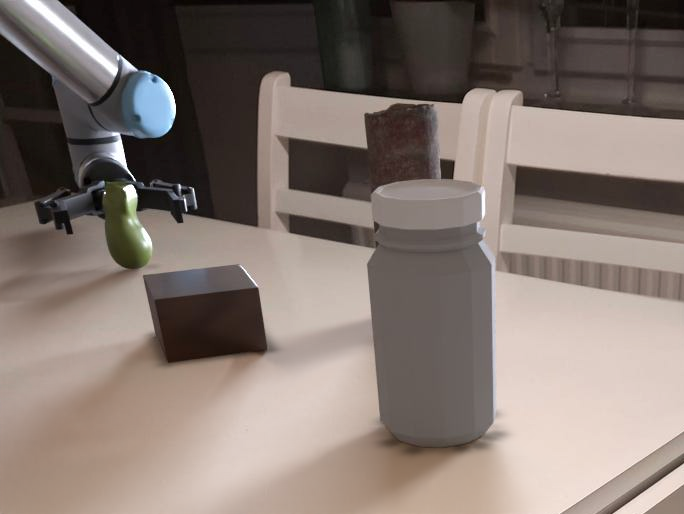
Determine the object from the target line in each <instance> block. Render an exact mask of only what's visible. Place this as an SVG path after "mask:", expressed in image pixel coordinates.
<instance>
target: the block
mask: <svg viewBox="0 0 684 514" xmlns="http://www.w3.org/2000/svg"><path fill="white" fill-rule="evenodd" d="M142 278H143V283H144V289H145V292H146V297H147V298H146V299H147V302H148V306H149V311H150V316H151V320H152V325H153V329H154V330H153V331H154V334H155V337H156V340H157V341H158V344H159V346H160V349H161V351H162V353H163V355H164V358H165V360H166V363H167V364H173V363H181V362H187V361H188V362H189V361H195V360H202V359H208V358H209V359H210V358H216V357H223V356H229V355H230V356H232V355H237V354H238V355H239V354H244V353H252V352H259V351H266V350H268V341H267V334H266V329H265V321H264V315H263V308H262V301H261V293H260V288H259V286H258V285H257V284H256V282H255V281H254V280H253V279H252V278H251V276H250V275H249V274H248V273H247V271H246V270H245V269H244V267H242V265H241V264H240V263H238V264H237V263H235V264H227V265H220V266H210V267H202V268H192V269H185V270H177V271H176V270H175V271H165V272H157V273H150V274H143V275H142Z"/></svg>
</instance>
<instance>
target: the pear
mask: <svg viewBox="0 0 684 514" xmlns="http://www.w3.org/2000/svg"><path fill="white" fill-rule="evenodd" d="M103 208H104V211H105V220H104V235H105V241H106V245H107V246H106V247H107V249H108V253H109V254H110V256H111V258H112V260H113V261H114V262H115V263H116V264H117V265H118V266H120V267H122V268H124V269H127V270H140V269H142V268H144V267H146V266H147V265H148V264H149V263H150V261H151V260H152V256H153V243H152V240H151V238H150V236H149V234H148V233H147V231H146V230H145V228H144V226H143V225H142V223H141V222H140V220H139V218H138V215H137V211H136V208H137V194H136V190H135V189H134V187H133V186H132V184H131V185H127V184H126V183H123V182H120V181H117V182H107V181H106V187H105V192H104V193H103Z"/></svg>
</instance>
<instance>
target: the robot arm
mask: <svg viewBox="0 0 684 514" xmlns="http://www.w3.org/2000/svg"><path fill="white" fill-rule="evenodd" d="M0 35H1V36H2V37H3V38H5V39H6V40H7V41H8V42H10V43H11V44H12V45H14V47H16V48H17V49H18V50H20V51H21V52H22V53H23V54H25V55H26V57H28V58H30V60H32V61H33V62H35V64H37V65H38V66H40V67H41V68H42V69H43V70H45V71H46V72H47V73H49V75H51V80H52V81H51V85H52V88H53V89H54V93H55V94H54V95H55V97H56V101H57V105H58V109H59V113H60V117H61V120H62V121H61V122H62V125H63V128H64V132H65V136H66V137H65V138H66V141H67V147H68V151H69V155H70V159H71V163H72V173H73V176H74V181H75V184H76V186H77V187H78V189H79V190H78V192H76V193H72V192H71V189H68V188H66V187H59V188H57V189H56V191H55V192H52V193H50V194H48V195H46V196H44V197H43V198H40V199H38V200H36V201H34V202H33V205H34V209H35V212H36V216H37V220H38V223H39V224H40V225H47V224H49V223H52V222H53V224H54V229H55V230H57V231H63V230H65V232H66V235H74V231H73V227H72V222H71V221H72V220H76V219H77V218H81V217H83V216H87V217H88V216H89V217H98V218H99V219H102V220H103V221H105V211H104V208H103V193H104V192H105V187H106V181H107V182H117V181H120V182H123V183H126V184H127V185H131V184H132V186H133V187H134V189H135V190H136V194H137V208H136V212H137V213H139V212H144V211H147V210H158V211H169V212H170V215H171V216H172V218H173V219H174V220H175V222H176V223H177V224H185V222H184V217H183V213H187V212H188V210H191V211H196V210H197V209H198V205H197V200H196V194H195V189H194V187H191V186H186V185H185V186H184V185H181V184H180V183H169V182H163V180H160V179H158V178H157V179H153V180H151V182H149V185H150V186H145V185H144V183H143V182H141V181H136V179H135V178H134V176H133V175H132V173H131V172H130V170H129V169H128V167H127V162H126V161H127V160H126V157H125V152H124V146H123V141H122V137H121V134H122V135H126V136H133V137H135V138H138V139H143V140H144V139H147V138H149V139H150V138H151V139H156V138H160V137H163V136H164V135H165V134H167V133H168V132H169V131H170V130H171V128H172V126H173V124H174V121H175V117H176V103H175V98H174V95H173V92H172V91H171V89H170V87H169V85H168V84H167V82H165V81H164V80H163V79H162V78H161V77H160V76H158V75H156V74H154V73H151V72H149V71H147V70H139V69H137V68H136V67H135V66H134V65H132V63H130V62H129V61H128V60H126V59H125V58H124V57H123V56H122V55H121V54H119V52H117V51H116V50H115V49H113V48H112V47H111V46H110V45H109V44H108V43H106V42H105V41H104V40H103V39H102V38H101V37H100V36H99V35H98V34H96V32H94V31H93V30H92V29H91V28H90V27H89V26H87V25H86V24H85V23H84V22H83V21H82V20H81V19H79V17H77V16H76V15H75V14H74V13H73V12H72V11H70V10H69V9H68V8H67V7H66V6H65V5H64V4H62V3H61V2H60V1H59V0H0Z"/></svg>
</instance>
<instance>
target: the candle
mask: <svg viewBox="0 0 684 514" xmlns="http://www.w3.org/2000/svg"><path fill="white" fill-rule="evenodd" d="M438 113H439V112H438V107H437V104H436V103H431V104H430V103H417V104H416V103H403V102H396V103H393V104H390V105H389V106H388V107H387V108H386V109H381V110H378V111H374V112H373V113H369V112H365V113H364V114H363V117H364V118H363V119H364V130H365V136H366V137H365V138H366V148H367V162H368V163H367V164H368V173H369V183H370V195H371V194H372V193H373V192H374V191H375V190H376V189H377V188H378V187H379V186H383V185H387V184H391V183H395V182H401V181H410V180H420V179H442V171H441V170H442V169H441V153H440V152H441V150H440V135H439V115H438ZM378 229H379V224H378V223H377V222H375V221H373V230H374V232H373V233H374V234H375V233H376V232H377V231H378ZM374 241H375V243H374V244H375V249H376V248H377V246H378V244H379V243H378V242H377V241H376V240H374Z"/></svg>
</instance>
